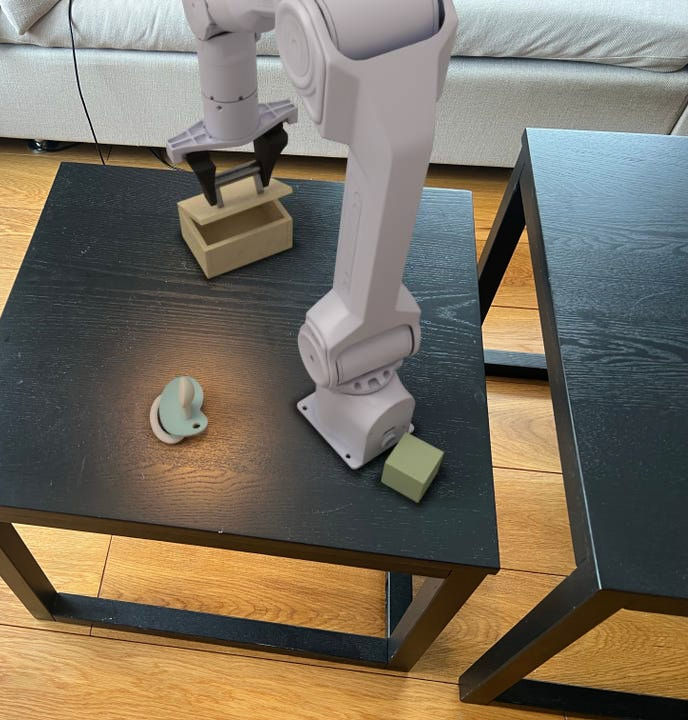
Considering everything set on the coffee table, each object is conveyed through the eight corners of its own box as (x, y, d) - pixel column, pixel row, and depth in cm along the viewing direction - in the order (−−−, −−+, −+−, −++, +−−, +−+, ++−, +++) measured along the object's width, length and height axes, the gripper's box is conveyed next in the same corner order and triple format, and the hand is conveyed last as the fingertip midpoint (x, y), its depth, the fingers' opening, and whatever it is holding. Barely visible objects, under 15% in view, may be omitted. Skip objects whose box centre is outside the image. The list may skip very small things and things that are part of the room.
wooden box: (292, 247, 93) (292, 219, 89) (208, 279, 91) (204, 251, 87) (263, 206, 98) (262, 178, 94) (182, 235, 96) (177, 207, 92)
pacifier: (154, 453, 78) (211, 442, 77) (143, 421, 73) (204, 410, 72) (147, 395, 82) (202, 385, 82) (136, 361, 77) (194, 351, 77)
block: (437, 472, 73) (444, 452, 70) (418, 503, 72) (424, 484, 68) (400, 452, 75) (405, 431, 72) (380, 482, 73) (384, 462, 70)
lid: (293, 192, 86) (285, 154, 84) (201, 225, 84) (191, 187, 82) (262, 178, 94) (254, 142, 92) (178, 208, 92) (168, 172, 90)
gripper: (276, 46, 79) (278, 151, 90) (148, 87, 77) (166, 191, 88) (307, 79, 75) (305, 186, 86) (173, 124, 73) (188, 228, 83)
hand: (237, 191), depth 87 cm, fingers closed on lid, 6 cm apart
